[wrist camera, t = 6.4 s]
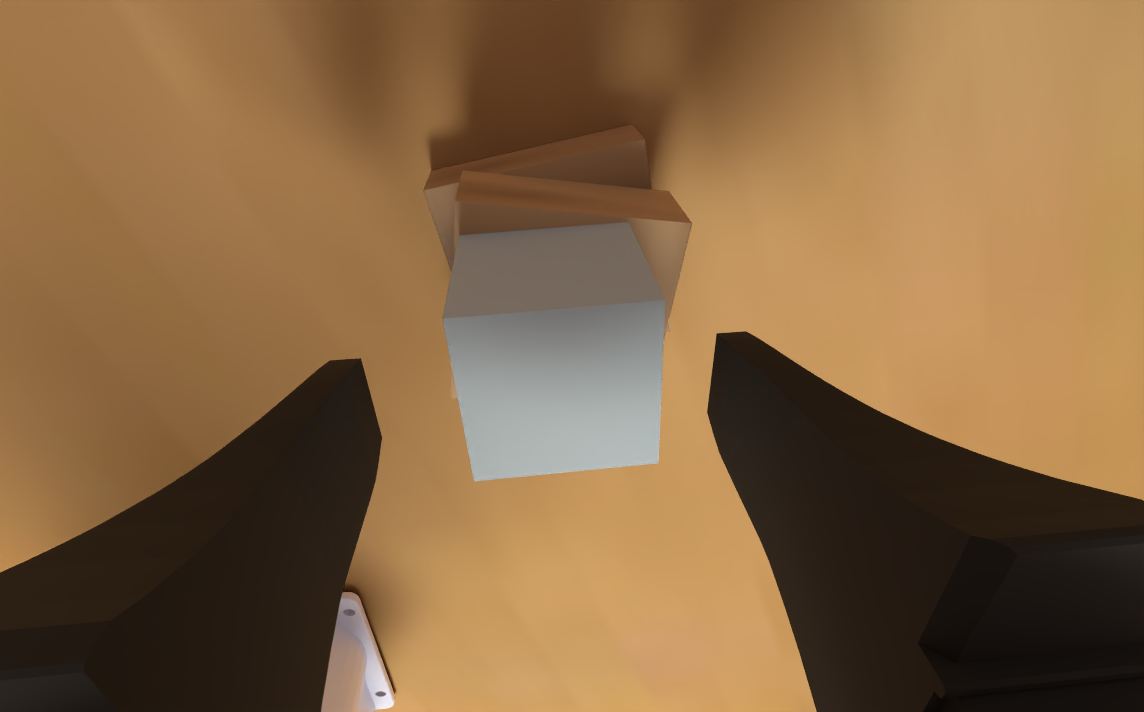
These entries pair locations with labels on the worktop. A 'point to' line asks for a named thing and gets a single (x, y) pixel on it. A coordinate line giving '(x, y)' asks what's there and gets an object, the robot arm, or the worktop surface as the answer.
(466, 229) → the slab top
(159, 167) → the worktop surface
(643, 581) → the worktop surface
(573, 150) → the slab base
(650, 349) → the gray cube
